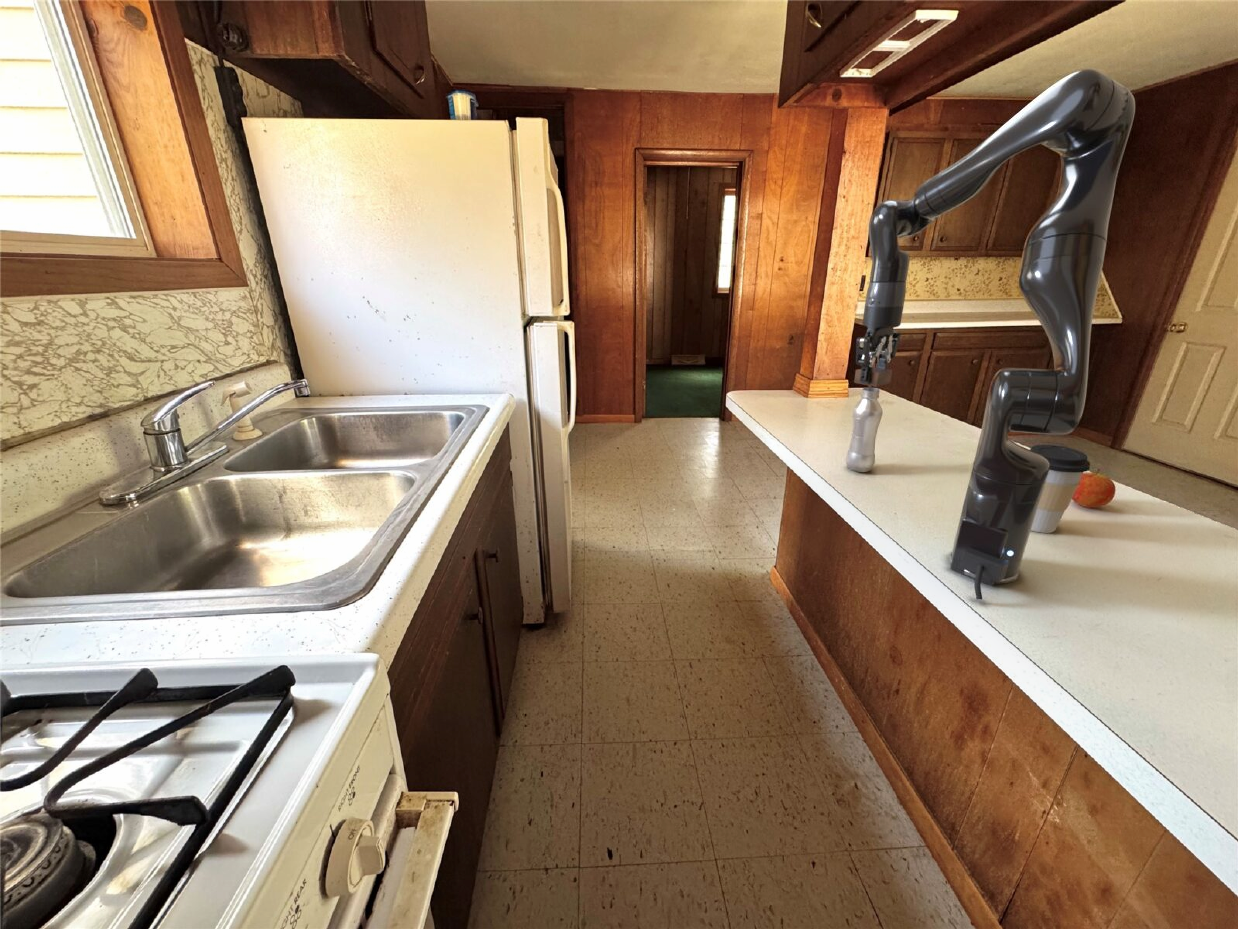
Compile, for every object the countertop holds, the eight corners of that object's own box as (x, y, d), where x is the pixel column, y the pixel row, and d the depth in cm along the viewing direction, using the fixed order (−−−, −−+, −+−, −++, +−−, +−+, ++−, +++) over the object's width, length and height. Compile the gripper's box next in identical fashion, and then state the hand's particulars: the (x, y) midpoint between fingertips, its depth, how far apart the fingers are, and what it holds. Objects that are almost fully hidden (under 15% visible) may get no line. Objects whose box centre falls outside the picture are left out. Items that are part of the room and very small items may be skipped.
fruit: (1095, 516, 99) (1108, 478, 96) (1055, 502, 105) (1067, 466, 102) (1116, 509, 102) (1130, 472, 99) (1076, 495, 108) (1088, 460, 105)
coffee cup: (1050, 515, 100) (1073, 444, 95) (1079, 540, 92) (1106, 462, 86) (996, 512, 102) (1015, 442, 96) (1020, 536, 94) (1042, 460, 88)
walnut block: (876, 386, 113) (879, 373, 112) (853, 382, 117) (855, 369, 116) (890, 382, 116) (892, 369, 115) (867, 379, 120) (869, 366, 119)
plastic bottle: (844, 473, 123) (856, 392, 115) (844, 463, 128) (855, 385, 121) (874, 476, 120) (887, 393, 113) (872, 466, 126) (885, 386, 119)
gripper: (883, 307, 103) (870, 389, 110) (919, 301, 111) (905, 378, 117) (848, 305, 109) (838, 383, 115) (885, 300, 116) (874, 373, 123)
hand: (872, 380), depth 116 cm, fingers closed on walnut block, 5 cm apart
